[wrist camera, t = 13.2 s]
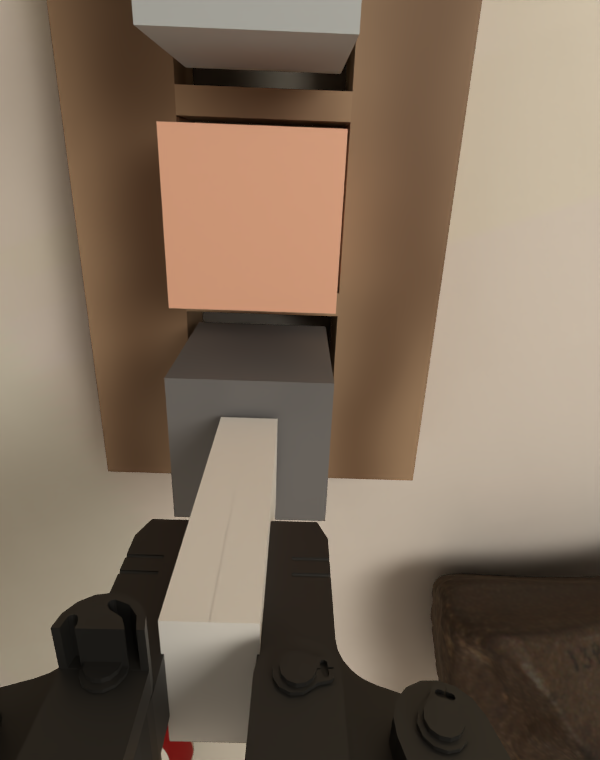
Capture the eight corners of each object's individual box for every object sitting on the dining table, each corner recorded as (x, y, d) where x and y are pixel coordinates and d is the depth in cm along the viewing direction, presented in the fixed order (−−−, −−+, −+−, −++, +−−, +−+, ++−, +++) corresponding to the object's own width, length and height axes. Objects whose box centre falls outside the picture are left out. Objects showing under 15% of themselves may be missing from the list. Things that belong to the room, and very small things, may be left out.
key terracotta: (202, 270, 18) (168, 308, 14) (196, 132, 16) (156, 121, 12) (326, 275, 18) (335, 313, 14) (334, 137, 16) (347, 129, 12)
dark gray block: (203, 432, 20) (174, 516, 15) (199, 321, 18) (164, 378, 13) (319, 436, 20) (325, 521, 15) (325, 326, 18) (334, 383, 13)
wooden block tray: (131, 433, 23) (108, 471, 20) (33, -489, 13) (-41, -669, 10) (399, 442, 23) (412, 480, 20) (514, -461, 13) (573, -630, 10)
